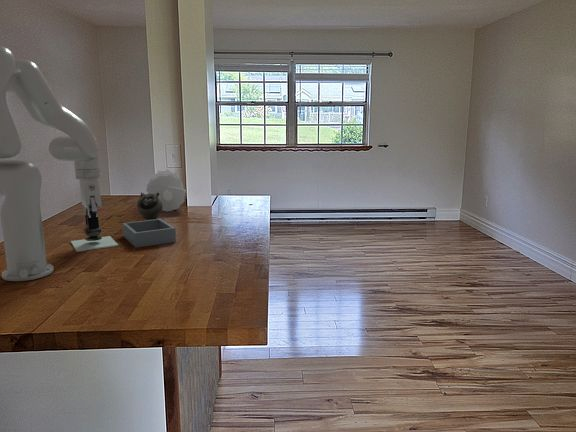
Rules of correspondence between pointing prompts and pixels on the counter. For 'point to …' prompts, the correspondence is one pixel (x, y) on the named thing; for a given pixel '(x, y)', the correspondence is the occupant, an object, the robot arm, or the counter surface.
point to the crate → (149, 232)
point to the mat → (93, 244)
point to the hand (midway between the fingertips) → (92, 226)
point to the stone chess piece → (92, 232)
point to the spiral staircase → (167, 189)
